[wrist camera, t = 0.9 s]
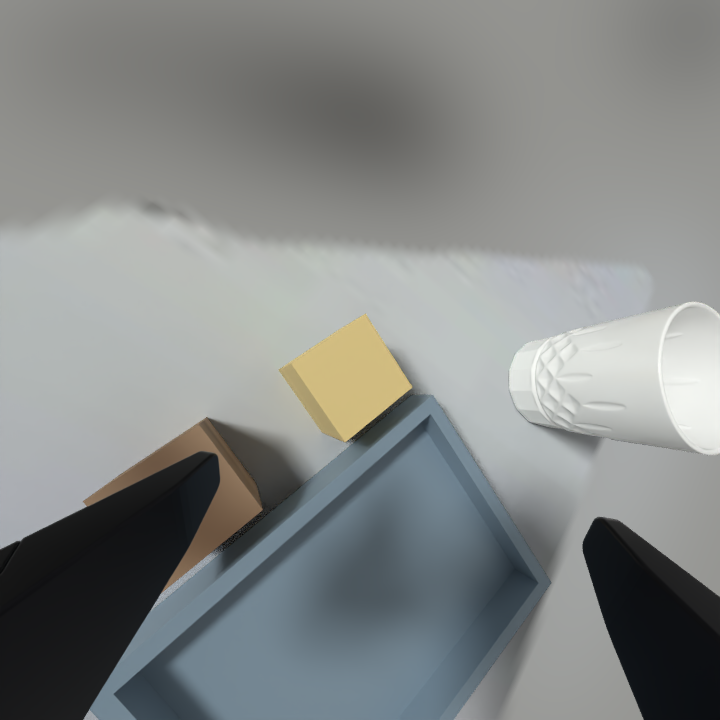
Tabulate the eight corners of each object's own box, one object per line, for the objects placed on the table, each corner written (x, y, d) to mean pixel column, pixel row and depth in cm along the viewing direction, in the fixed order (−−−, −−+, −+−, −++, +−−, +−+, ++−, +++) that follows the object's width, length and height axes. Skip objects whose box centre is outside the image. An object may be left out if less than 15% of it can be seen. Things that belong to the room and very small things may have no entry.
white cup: (587, 378, 28) (760, 370, 19) (548, 453, 26) (724, 487, 17) (532, 313, 27) (691, 271, 17) (484, 388, 24) (639, 384, 15)
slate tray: (289, 861, 17) (298, 936, 15) (102, 651, 15) (78, 698, 13) (520, 564, 24) (551, 582, 22) (411, 394, 22) (432, 394, 20)
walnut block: (178, 543, 17) (160, 594, 12) (122, 473, 16) (82, 501, 12) (256, 483, 18) (262, 509, 14) (206, 417, 18) (198, 424, 14)
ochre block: (321, 432, 20) (345, 442, 16) (278, 369, 19) (290, 363, 15) (377, 388, 21) (412, 387, 17) (338, 329, 21) (365, 313, 17)
